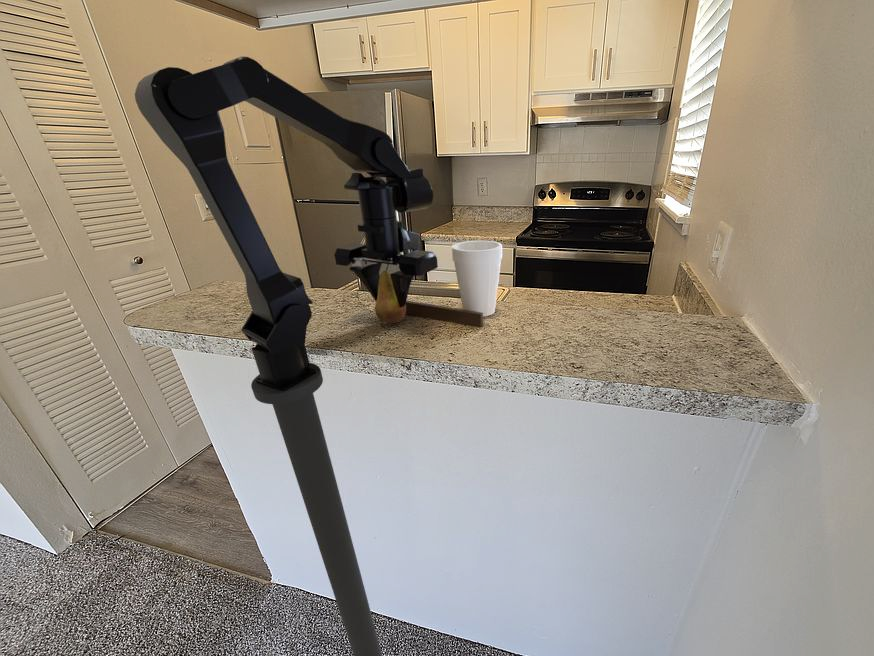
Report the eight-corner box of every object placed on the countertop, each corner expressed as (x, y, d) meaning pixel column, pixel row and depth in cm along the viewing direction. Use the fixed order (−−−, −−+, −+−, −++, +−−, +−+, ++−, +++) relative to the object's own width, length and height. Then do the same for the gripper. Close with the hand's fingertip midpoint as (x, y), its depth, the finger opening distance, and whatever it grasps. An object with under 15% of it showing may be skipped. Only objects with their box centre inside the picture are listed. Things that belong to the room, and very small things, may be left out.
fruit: (379, 321, 79) (363, 259, 74) (408, 315, 79) (394, 253, 75) (378, 329, 74) (361, 263, 69) (409, 323, 74) (395, 257, 70)
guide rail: (481, 327, 74) (480, 314, 73) (393, 311, 82) (392, 300, 81) (483, 325, 75) (483, 312, 73) (396, 310, 83) (395, 298, 82)
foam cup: (481, 300, 87) (479, 238, 81) (512, 310, 81) (512, 244, 75) (446, 311, 81) (441, 246, 75) (476, 324, 75) (474, 254, 69)
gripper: (451, 212, 70) (455, 297, 78) (368, 207, 78) (379, 285, 85) (414, 223, 61) (423, 318, 69) (324, 216, 69) (341, 302, 77)
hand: (390, 304), depth 75 cm, fingers closed on fruit, 5 cm apart
